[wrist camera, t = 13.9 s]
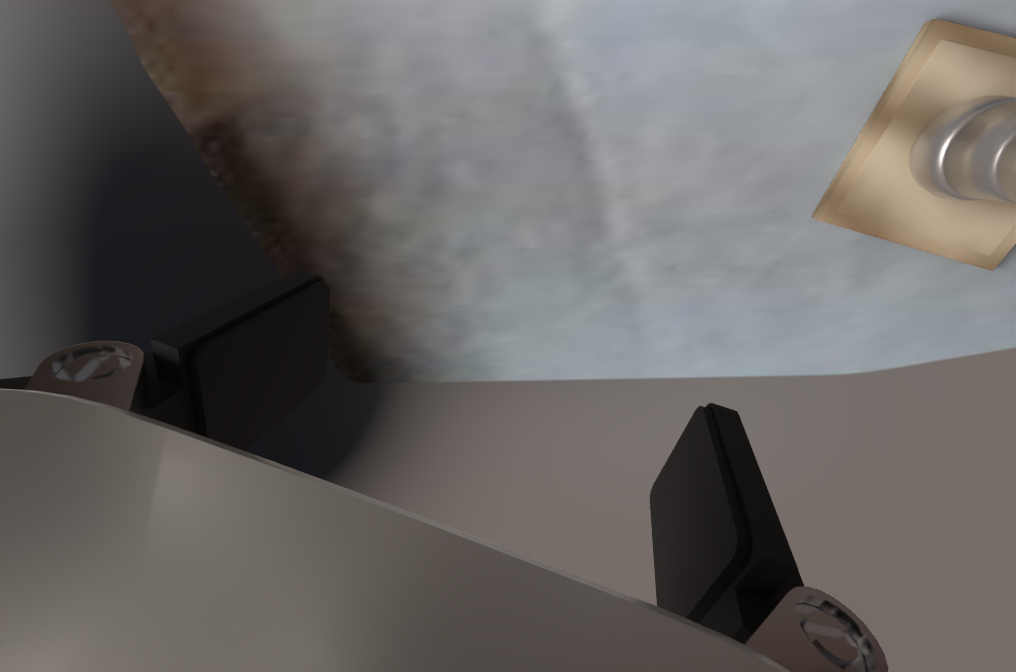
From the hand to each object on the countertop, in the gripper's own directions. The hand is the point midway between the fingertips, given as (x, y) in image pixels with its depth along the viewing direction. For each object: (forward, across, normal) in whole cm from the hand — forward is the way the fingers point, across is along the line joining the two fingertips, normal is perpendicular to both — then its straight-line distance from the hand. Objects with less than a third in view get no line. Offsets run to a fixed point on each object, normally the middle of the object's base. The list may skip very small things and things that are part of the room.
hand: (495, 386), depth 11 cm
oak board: (+34, -26, -10) cm, 44 cm away
